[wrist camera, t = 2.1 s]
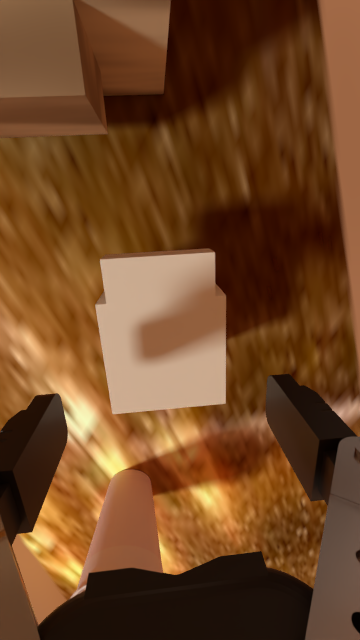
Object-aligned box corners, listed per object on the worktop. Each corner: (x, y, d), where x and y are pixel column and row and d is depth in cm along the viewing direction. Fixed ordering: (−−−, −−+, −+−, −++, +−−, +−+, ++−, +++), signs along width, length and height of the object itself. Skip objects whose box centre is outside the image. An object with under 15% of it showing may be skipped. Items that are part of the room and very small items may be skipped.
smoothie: (81, 471, 25) (2, 751, 12) (150, 447, 25) (146, 706, 12) (112, 519, 27) (73, 798, 14) (176, 497, 27) (196, 761, 14)
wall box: (110, 244, 19) (88, 260, 13) (201, 238, 19) (226, 251, 13) (126, 363, 22) (114, 426, 16) (204, 356, 22) (225, 415, 16)
